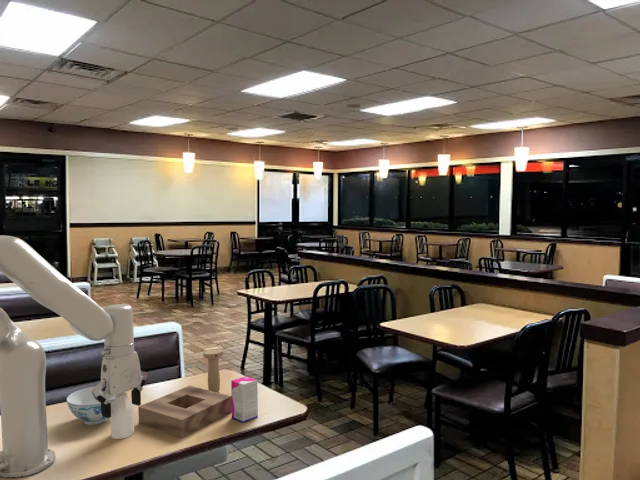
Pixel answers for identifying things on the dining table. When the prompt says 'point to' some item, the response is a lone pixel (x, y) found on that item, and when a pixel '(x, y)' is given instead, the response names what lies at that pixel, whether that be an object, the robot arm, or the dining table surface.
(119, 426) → the white rounded piece
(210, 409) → the well block
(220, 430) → the dining table surface
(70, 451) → the dining table surface
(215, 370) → the handle
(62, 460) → the dining table surface
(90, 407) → the chinaware
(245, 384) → the supplement box
